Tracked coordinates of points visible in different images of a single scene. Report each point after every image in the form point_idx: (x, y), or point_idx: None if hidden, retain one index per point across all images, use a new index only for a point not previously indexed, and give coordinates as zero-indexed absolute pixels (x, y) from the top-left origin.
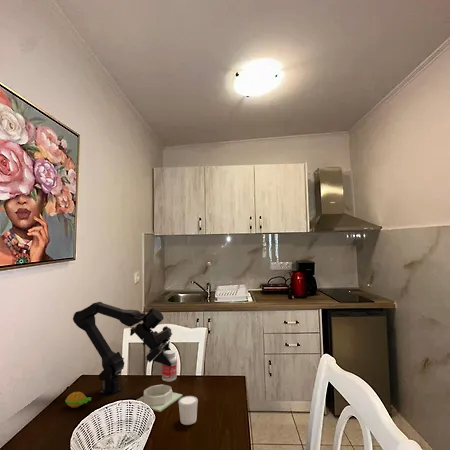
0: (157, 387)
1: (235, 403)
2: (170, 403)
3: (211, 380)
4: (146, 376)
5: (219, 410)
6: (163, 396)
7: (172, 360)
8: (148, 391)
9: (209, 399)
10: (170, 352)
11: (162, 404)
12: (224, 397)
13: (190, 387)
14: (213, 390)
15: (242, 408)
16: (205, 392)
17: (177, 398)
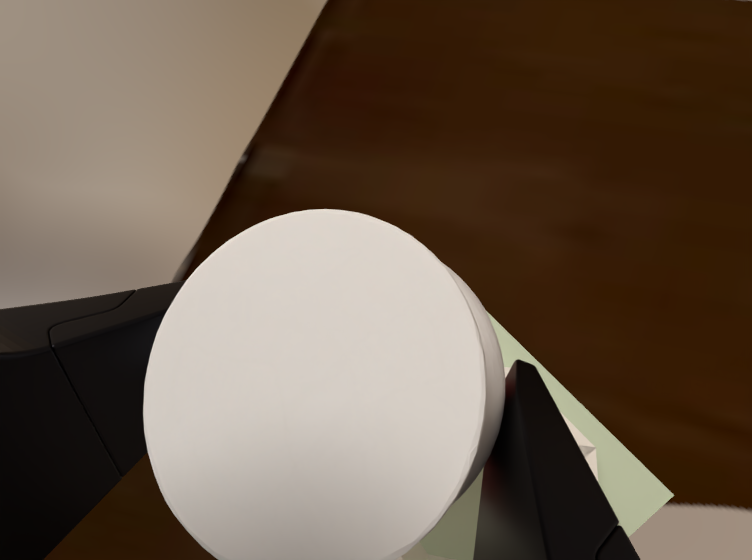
0: None
1: (664, 31)
2: (567, 392)
3: (329, 109)
4: None
5: (737, 118)
6: (596, 460)
7: (492, 333)
8: (407, 553)
9: (567, 150)
10: (357, 351)
11: None
12: (568, 73)
13: None
14: (457, 115)
15: (740, 6)
16: (466, 158)
17: (506, 332)
